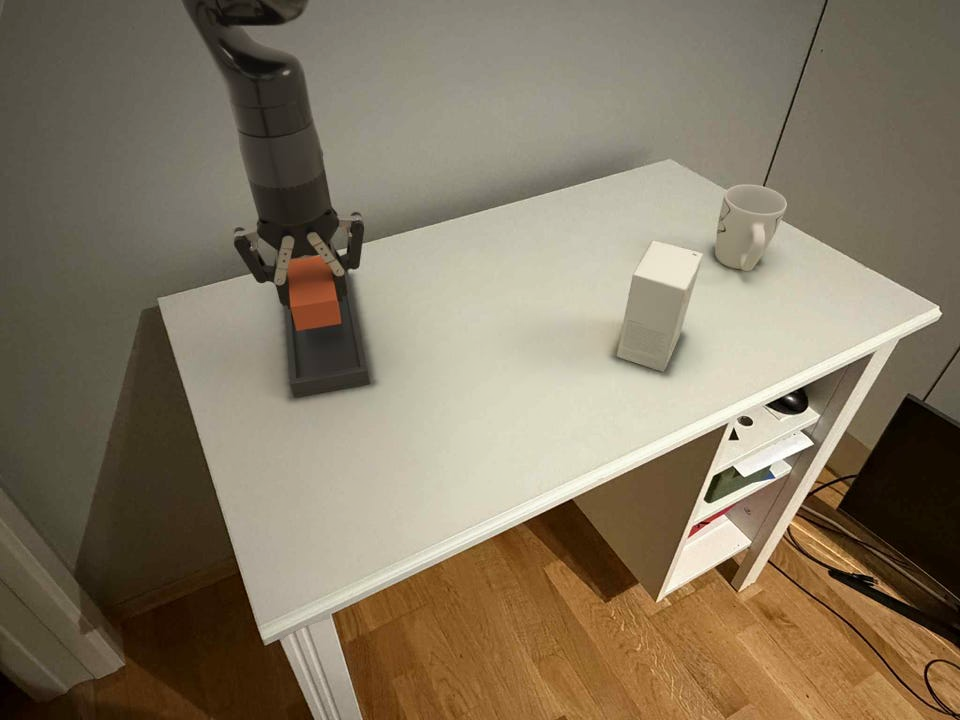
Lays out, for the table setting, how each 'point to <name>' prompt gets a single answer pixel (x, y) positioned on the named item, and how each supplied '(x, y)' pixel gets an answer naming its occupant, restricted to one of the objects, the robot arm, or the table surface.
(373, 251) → the table surface
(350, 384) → the frame
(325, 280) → the orange block
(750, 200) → the mug
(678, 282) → the small box
